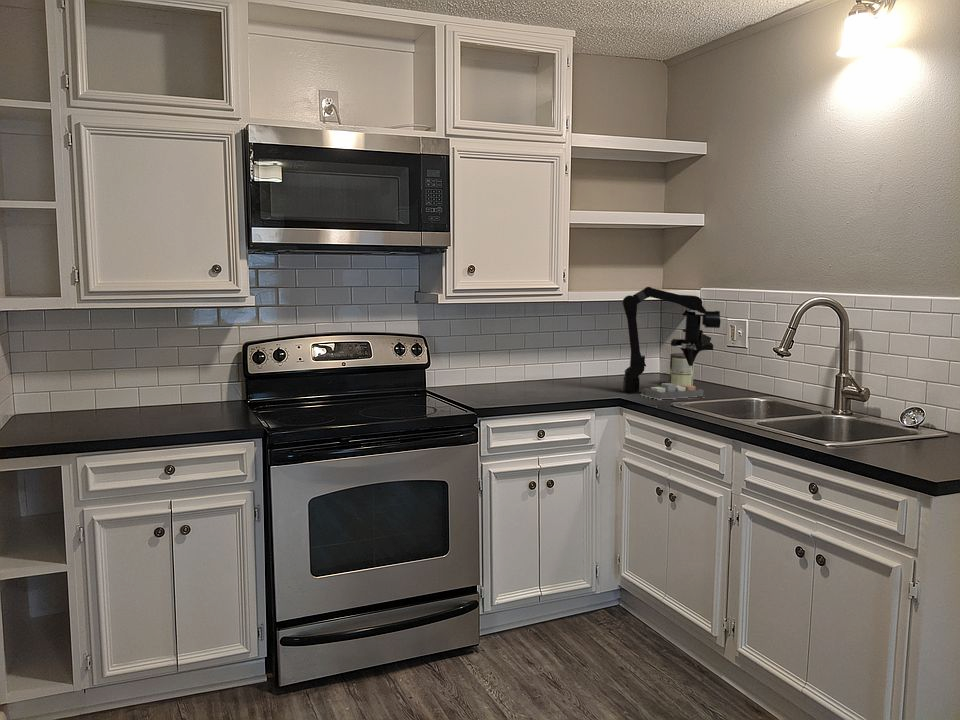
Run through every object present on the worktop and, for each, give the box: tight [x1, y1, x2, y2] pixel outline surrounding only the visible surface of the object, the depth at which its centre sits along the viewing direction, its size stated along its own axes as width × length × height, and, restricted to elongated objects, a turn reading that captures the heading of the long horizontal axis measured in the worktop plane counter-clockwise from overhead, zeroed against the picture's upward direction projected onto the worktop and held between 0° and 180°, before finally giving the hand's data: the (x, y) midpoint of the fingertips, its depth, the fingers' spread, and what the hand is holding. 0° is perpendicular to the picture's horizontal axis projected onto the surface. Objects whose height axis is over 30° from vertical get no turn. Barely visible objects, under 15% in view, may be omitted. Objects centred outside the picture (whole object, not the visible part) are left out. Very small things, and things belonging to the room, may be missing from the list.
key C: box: [676, 386, 686, 391], centre depth 315 cm, size 4×4×3 cm
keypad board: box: [639, 387, 704, 401], centre depth 313 cm, size 11×24×3 cm, turn 118°
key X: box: [660, 382, 676, 392], centre depth 312 cm, size 4×4×3 cm
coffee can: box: [668, 352, 695, 386], centre depth 341 cm, size 10×10×14 cm
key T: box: [681, 385, 697, 390], centre depth 317 cm, size 4×4×3 cm
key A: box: [650, 386, 666, 392], centre depth 310 cm, size 4×4×3 cm
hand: (690, 365), depth 316 cm, fingers closed
